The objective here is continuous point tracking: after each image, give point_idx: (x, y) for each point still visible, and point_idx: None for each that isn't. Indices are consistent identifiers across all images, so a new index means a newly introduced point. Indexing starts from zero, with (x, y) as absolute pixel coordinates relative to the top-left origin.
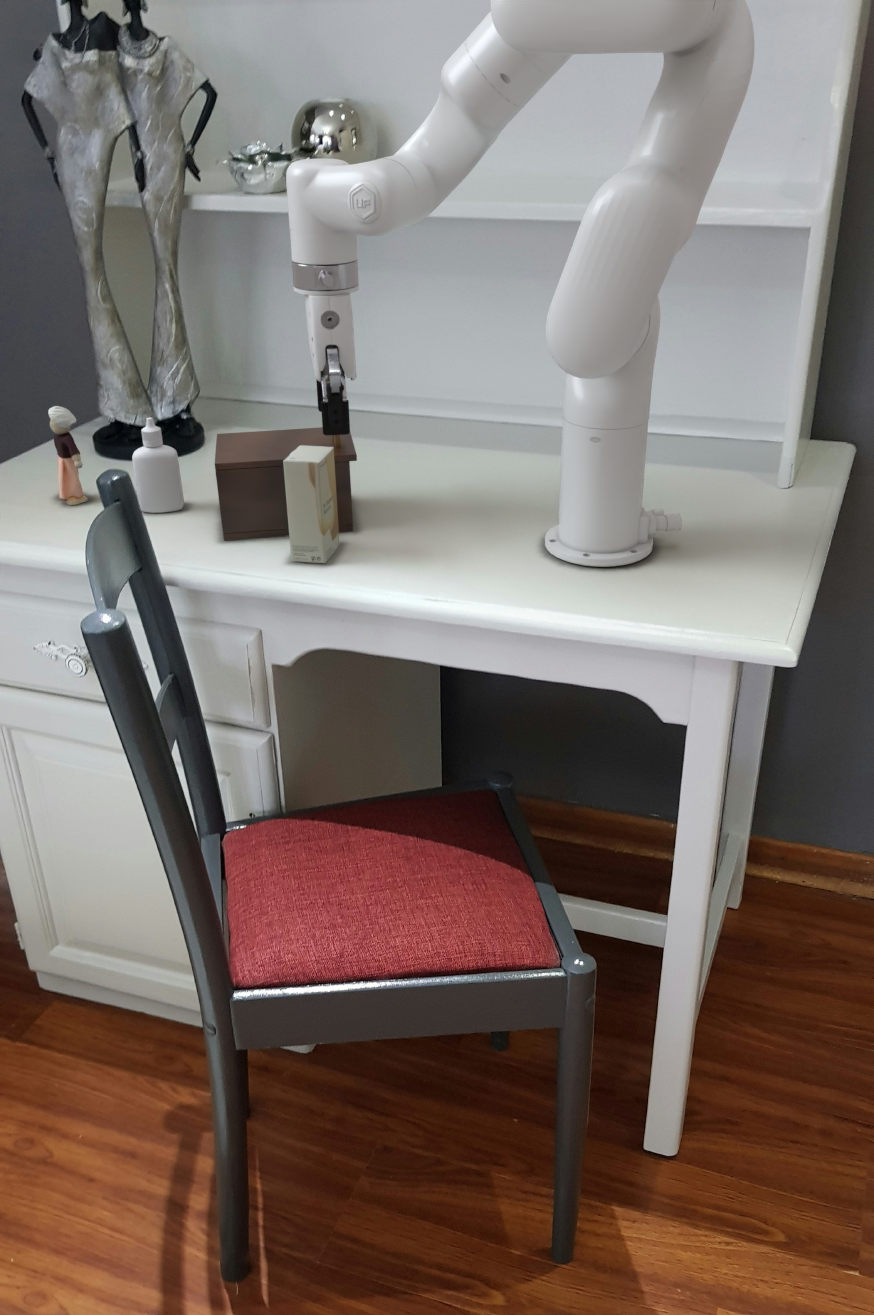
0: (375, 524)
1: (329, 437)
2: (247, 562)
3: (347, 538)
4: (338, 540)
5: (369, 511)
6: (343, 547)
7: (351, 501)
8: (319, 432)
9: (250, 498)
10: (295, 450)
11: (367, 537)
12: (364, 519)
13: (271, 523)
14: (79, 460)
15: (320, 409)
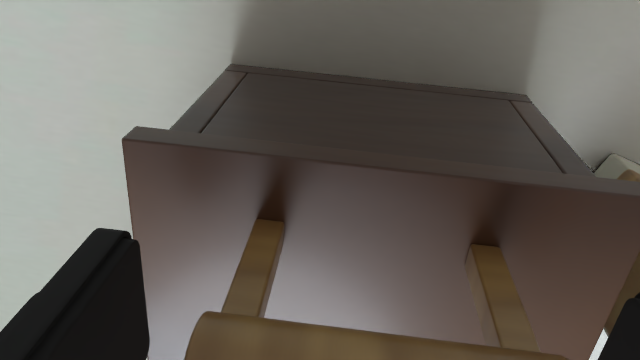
0: (497, 13)
1: (314, 263)
2: (595, 352)
3: (571, 121)
4: (630, 164)
5: (371, 9)
6: (633, 144)
7: (557, 133)
8: (220, 286)
9: None
10: None
11: (595, 61)
12: (437, 40)
13: None
14: None
15: (144, 353)
